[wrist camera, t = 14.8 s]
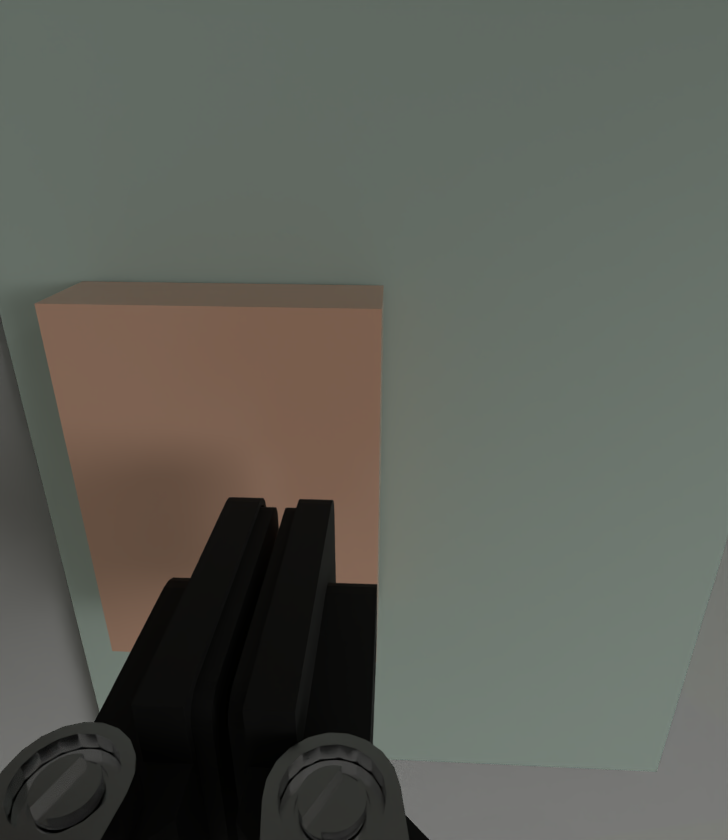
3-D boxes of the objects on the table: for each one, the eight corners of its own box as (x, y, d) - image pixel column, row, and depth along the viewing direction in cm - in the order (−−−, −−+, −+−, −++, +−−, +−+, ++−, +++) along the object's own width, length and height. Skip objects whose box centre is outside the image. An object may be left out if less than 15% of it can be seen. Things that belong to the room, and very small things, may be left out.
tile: (384, 283, 12) (85, 279, 12) (381, 309, 10) (34, 303, 11) (378, 601, 15) (144, 593, 16) (376, 661, 14) (112, 651, 14)
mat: (-80, -94, 10) (-105, -106, 10) (897, -106, 10) (926, -120, 9) (116, 728, 19) (107, 746, 18) (648, 752, 18) (656, 771, 18)
